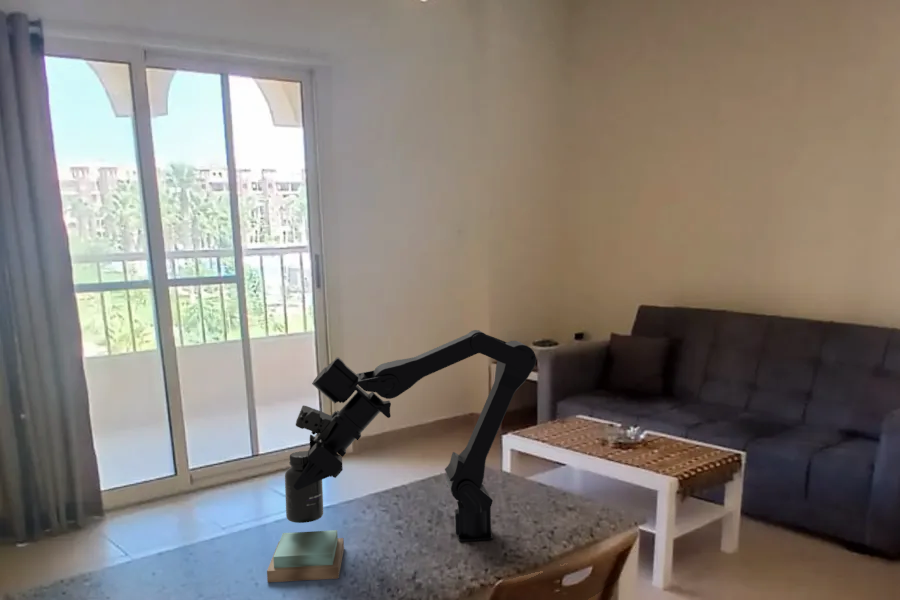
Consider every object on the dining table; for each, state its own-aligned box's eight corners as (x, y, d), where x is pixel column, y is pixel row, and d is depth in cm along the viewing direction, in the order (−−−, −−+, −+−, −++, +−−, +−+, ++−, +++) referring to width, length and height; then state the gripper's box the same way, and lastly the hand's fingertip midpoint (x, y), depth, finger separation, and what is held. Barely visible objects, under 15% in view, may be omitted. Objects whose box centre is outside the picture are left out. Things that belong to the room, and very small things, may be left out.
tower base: (343, 548, 134) (343, 527, 134) (338, 578, 122) (337, 555, 122) (279, 551, 134) (278, 531, 133) (267, 582, 122) (266, 559, 121)
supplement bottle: (319, 523, 130) (316, 458, 129) (282, 524, 130) (279, 459, 129) (327, 510, 137) (324, 448, 136) (291, 511, 137) (288, 449, 136)
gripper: (321, 381, 141) (267, 440, 140) (319, 402, 123) (257, 470, 122) (363, 417, 143) (310, 476, 142) (367, 443, 125) (306, 510, 124)
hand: (296, 481), depth 133 cm, fingers closed on supplement bottle, 7 cm apart
